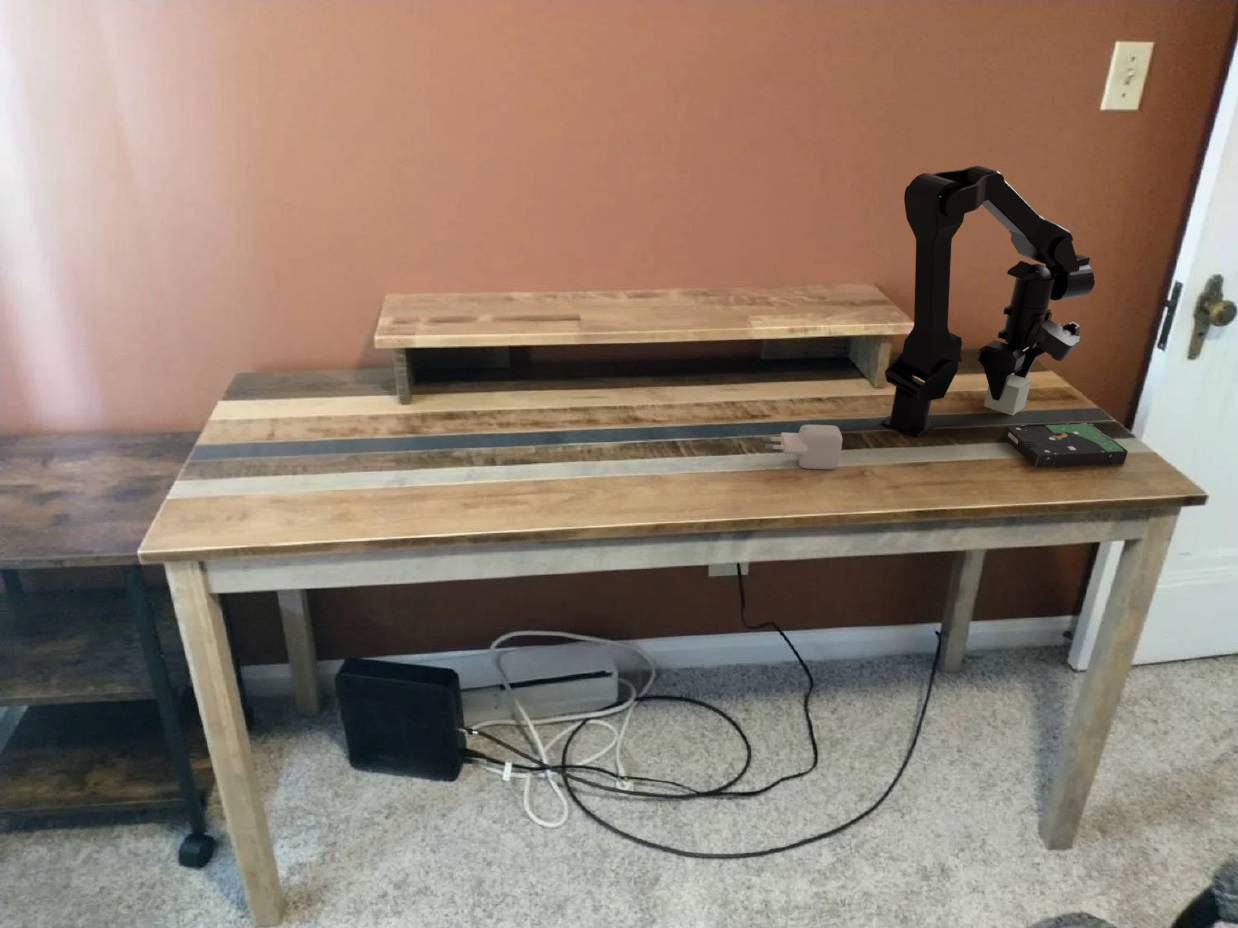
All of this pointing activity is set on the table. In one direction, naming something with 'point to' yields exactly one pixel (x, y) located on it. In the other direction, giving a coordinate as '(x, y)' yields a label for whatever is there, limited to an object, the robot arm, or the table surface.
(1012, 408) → the sage block
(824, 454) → the power adapter
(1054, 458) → the disk drive
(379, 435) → the table surface
